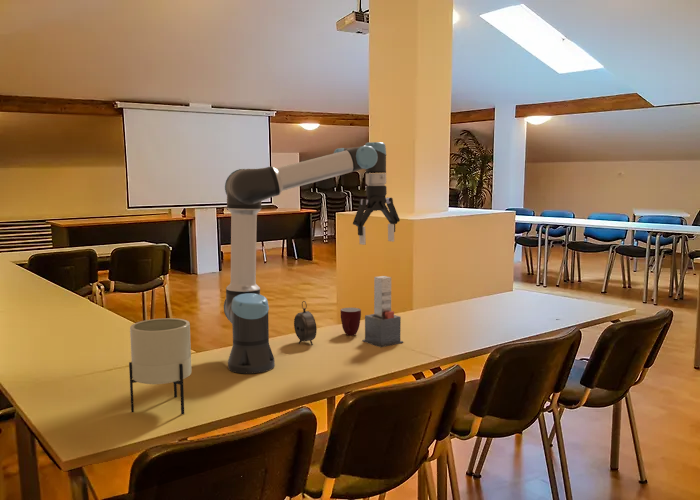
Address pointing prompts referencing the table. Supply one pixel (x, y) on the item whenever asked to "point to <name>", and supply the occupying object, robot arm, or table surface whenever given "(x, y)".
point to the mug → (350, 320)
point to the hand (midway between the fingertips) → (377, 242)
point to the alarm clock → (305, 326)
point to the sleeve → (382, 330)
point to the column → (382, 296)
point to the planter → (160, 353)
